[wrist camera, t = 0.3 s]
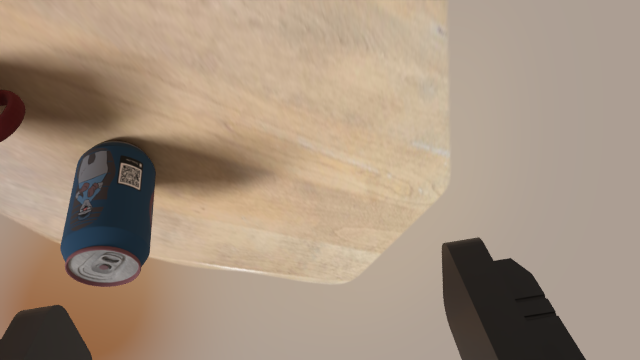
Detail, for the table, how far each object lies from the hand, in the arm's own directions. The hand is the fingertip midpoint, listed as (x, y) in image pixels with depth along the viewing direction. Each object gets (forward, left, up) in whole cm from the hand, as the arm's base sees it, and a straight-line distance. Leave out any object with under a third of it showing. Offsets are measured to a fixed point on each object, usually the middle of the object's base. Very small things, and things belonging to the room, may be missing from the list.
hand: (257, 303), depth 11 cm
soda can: (+6, -29, -31) cm, 43 cm away
